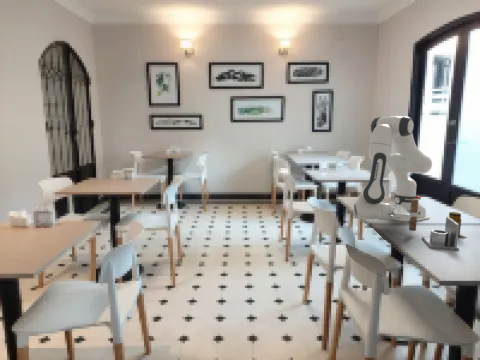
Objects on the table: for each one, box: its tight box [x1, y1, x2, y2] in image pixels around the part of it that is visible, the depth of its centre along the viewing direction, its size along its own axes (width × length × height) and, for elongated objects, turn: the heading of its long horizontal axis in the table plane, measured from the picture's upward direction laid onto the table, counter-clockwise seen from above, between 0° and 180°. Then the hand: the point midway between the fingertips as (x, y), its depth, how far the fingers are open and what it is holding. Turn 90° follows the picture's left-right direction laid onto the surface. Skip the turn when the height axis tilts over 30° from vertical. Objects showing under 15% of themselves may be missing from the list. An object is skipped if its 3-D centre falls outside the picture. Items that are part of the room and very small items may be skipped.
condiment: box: [448, 211, 466, 239], centre depth 184 cm, size 7×8×12 cm
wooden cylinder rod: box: [408, 199, 420, 232], centre depth 182 cm, size 3×3×16 cm
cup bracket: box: [421, 216, 460, 251], centre depth 170 cm, size 12×14×12 cm
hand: (415, 213), depth 182 cm, fingers closed on wooden cylinder rod, 3 cm apart
